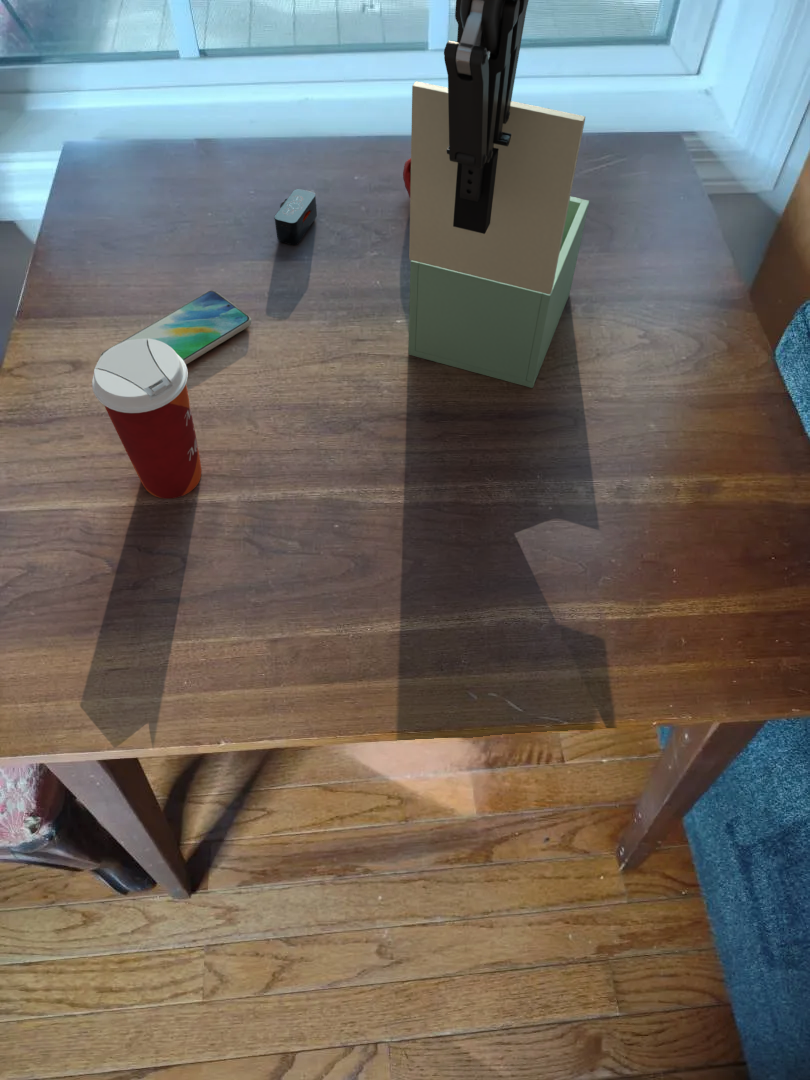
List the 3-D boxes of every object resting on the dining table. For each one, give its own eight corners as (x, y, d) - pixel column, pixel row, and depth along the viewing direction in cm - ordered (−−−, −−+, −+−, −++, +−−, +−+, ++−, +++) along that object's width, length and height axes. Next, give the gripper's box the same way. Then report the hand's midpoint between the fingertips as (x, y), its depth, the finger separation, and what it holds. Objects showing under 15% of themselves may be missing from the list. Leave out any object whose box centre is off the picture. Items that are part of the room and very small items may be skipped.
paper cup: (229, 476, 81) (203, 367, 70) (162, 522, 78) (123, 416, 66) (180, 431, 84) (147, 319, 73) (113, 473, 81) (67, 364, 70)
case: (454, 265, 99) (461, 171, 89) (569, 294, 97) (589, 200, 87) (407, 354, 91) (410, 261, 81) (532, 388, 88) (550, 296, 79)
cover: (415, 80, 67) (411, 85, 67) (585, 116, 65) (583, 121, 64) (411, 254, 81) (409, 259, 80) (552, 289, 78) (550, 295, 78)
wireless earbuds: (321, 213, 104) (319, 189, 102) (297, 248, 100) (294, 224, 98) (286, 204, 105) (283, 180, 102) (261, 239, 101) (257, 215, 99)
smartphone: (96, 354, 89) (212, 287, 95) (98, 360, 89) (213, 294, 96) (136, 390, 86) (254, 318, 92) (139, 396, 86) (255, 325, 93)
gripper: (476, -169, 55) (452, 171, 74) (406, -91, 48) (400, 262, 67) (591, -151, 54) (536, 190, 73) (537, -69, 47) (492, 284, 66)
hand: (471, 224), depth 70 cm, fingers closed
